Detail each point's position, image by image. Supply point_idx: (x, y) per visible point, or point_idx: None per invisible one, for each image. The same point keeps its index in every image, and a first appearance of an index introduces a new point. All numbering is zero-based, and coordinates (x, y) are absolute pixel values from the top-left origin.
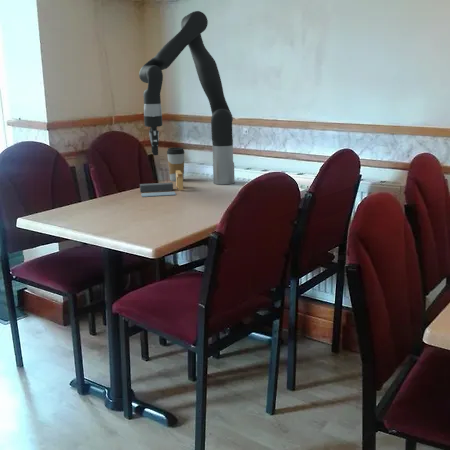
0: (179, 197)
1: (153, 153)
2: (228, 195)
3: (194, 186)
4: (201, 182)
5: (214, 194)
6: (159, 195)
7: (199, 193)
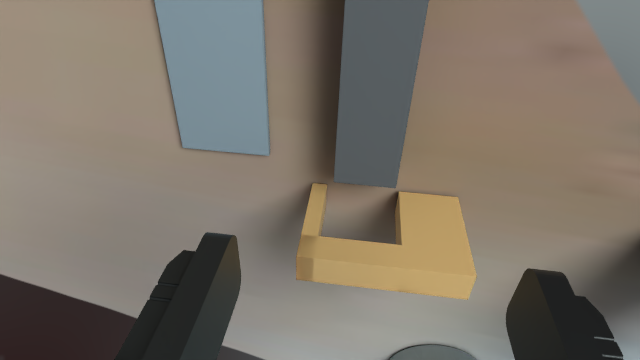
0: (121, 149)
1: (201, 252)
2: None
3: None
4: None
5: None
6: (165, 48)
7: None
